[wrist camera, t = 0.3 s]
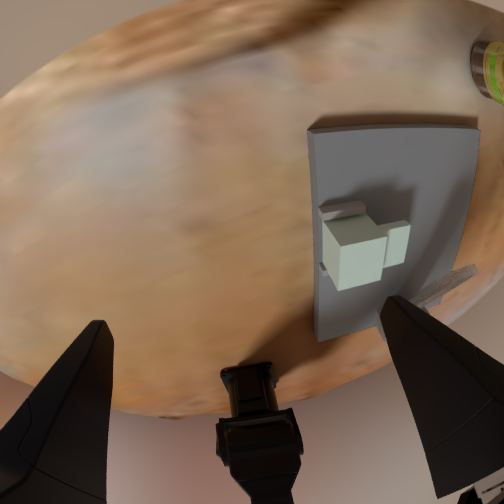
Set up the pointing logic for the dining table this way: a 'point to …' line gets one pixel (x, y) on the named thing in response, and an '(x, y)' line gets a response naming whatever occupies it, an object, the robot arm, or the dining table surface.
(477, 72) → the sauce bottle
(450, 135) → the board
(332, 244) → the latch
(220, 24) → the dining table surface
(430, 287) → the strap
